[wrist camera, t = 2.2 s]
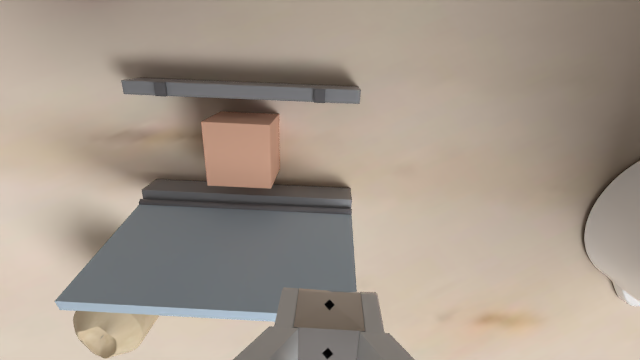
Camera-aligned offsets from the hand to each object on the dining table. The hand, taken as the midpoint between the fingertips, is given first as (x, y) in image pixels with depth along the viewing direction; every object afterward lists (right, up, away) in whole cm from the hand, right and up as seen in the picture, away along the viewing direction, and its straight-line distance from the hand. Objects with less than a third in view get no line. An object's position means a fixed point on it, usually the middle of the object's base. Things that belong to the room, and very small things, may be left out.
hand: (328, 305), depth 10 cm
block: (-6, +7, +18) cm, 20 cm away
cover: (-7, -1, +13) cm, 14 cm away
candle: (-17, -5, +23) cm, 29 cm away
